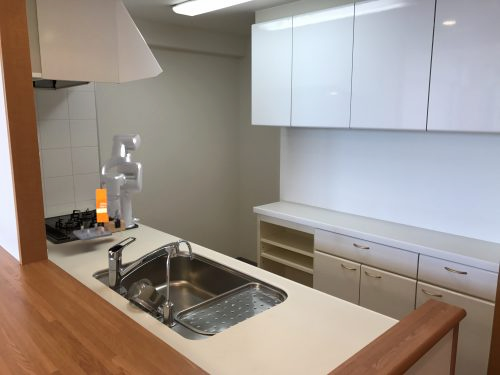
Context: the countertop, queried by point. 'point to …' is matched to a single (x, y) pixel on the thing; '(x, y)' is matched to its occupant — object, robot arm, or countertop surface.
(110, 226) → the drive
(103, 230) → the pin tray
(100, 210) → the orange juice
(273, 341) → the countertop surface
